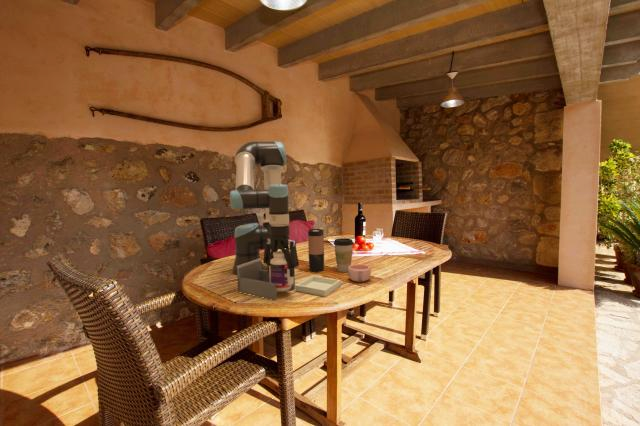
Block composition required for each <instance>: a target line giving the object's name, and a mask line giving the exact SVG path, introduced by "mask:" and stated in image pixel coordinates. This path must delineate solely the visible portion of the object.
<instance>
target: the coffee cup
mask: <svg viewBox="0 0 640 426" xmlns="http://www.w3.org/2000/svg"><path fill="white" fill-rule="evenodd" d="M333 245H334V254H335V260H336V261H335V262H336V265H337V267H336V270H337V271H338V272H341V273H342V272H346V273H348V267H349V266H350V265H352V259H353V258H352V257H353V245H354V241H353V239H351V238H345V237H343V238H342V237H341V238H335V239H334V241H333Z"/></svg>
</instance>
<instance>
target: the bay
mask: <svg viewBox="0 0 640 426" xmlns="http://www.w3.org/2000/svg"><path fill="white" fill-rule="evenodd" d="M262 263H263V260H262V258H261V259H260V258H259V259H256V260H253V261H250V262H247V263H245V264H242V265H239V266H237V274H236V276H237V277H236V278H237V293H238V292H241V293H240V294H242V293H246V294H245V295H247V294H251V295H250V296H252V295H255V296H254V297H256V296H259V297H258V298H261V297H264V298H263V299H265V298H267V299H266V300H270V299H272V300H271V301H276V300H277V291H276V284H275V283H271V282H270V279H269V273H268V269H267V270H266V269H264V270H262ZM295 281H296V280H295V275H294V276H293V284H292V287H291V288H290V289H289V290H290V291H291V290H292V291H294V290H295V285H296V284H295V283H296V282H295Z"/></svg>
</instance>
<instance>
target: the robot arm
mask: <svg viewBox="0 0 640 426" xmlns="http://www.w3.org/2000/svg"><path fill="white" fill-rule="evenodd" d="M234 155H235V156H234V164H235V166H236V172H235V174H236V175H235V190H231V191H230V192H229V205H230V208H231V209H232V210H251V209H265V219H264V220H263V222H262V225H260V224H259V223H258V222H253V223H252V222H251V223H245V224H241V225H238V226H236V227H235V229H234V245H235V247H234V249H235V250H234V251H235V258H234V262H233V266H232V274H234V275H237V266H239V265H242V264H245V263H247V262H250V261H253V260H256V259H259V258H260V259H262V257H261V253H260V251H261V250H264V252H263V260H262V270H265V266H264V264H266V265H267V270H268V273H269V279H270V282H271V271H270V261H271V259H272V258H274V257H273V252H276V251H282V252H283V253H284V256H285V259H286V261H287V264H288V267H289V268H288V269H287V281H288V286H290V285H292V284H293V276H294V275H295V273H296V272H295V271H296V270H295V268H297V267H299V266H300V263H299V258H298V257H299V256H298V251H297V240H291V239H290V211H289V210H290V209H289V193H290V192H289V186H288V185H287V184H282V173H281V172H282V171H283V169H284V166H285V165H287V155H286V150H285V146H284V144H283V142H281V141H274V140H273V141H252V140H251V141H248V142H246V143H244V144H242V146H240V147H239V148H238V149H237V151H236V153H235V154H234ZM254 166H260V169H261V171H262V172H263V180H264V181H263V186H264V189H255V183H254V182H255V181H254V175H255V174H254Z"/></svg>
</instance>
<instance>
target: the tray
mask: <svg viewBox="0 0 640 426" xmlns="http://www.w3.org/2000/svg"><path fill="white" fill-rule="evenodd" d="M340 287H342V280H341V279H337V278H336V279H335V278H328V277H322V276H316V275H312V276H310V277H308V278H306V279H304V280H301V282H299V283H296V284H295V289H294V290H295V292H298V293H303V294H309V295H311V296H312V295H314V296H319V297H324V298H326V297H328V296H329V295H330V294H332V293H333V292H335V291H336V290H337V289H339V288H340Z"/></svg>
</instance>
